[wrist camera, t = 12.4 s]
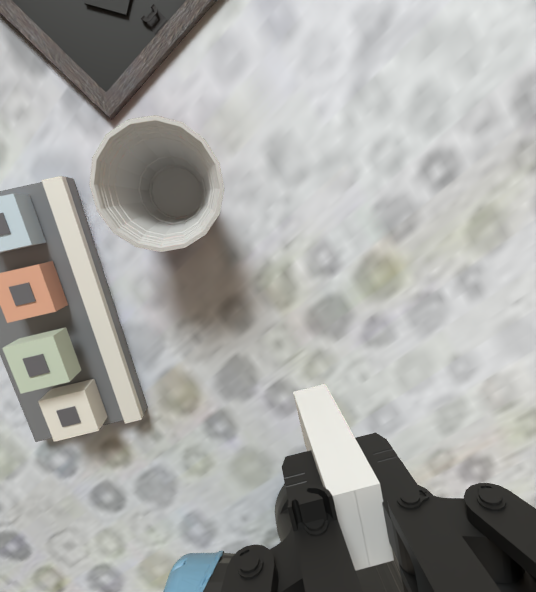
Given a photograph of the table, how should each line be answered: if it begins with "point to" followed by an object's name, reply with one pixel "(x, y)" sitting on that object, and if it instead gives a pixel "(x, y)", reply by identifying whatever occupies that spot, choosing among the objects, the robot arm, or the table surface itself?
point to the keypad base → (73, 307)
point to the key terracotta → (31, 292)
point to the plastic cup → (156, 183)
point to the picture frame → (105, 40)
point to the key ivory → (73, 410)
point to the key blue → (18, 223)
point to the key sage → (42, 360)
